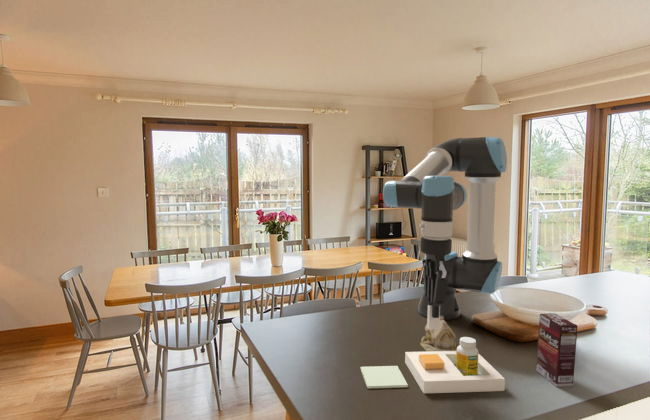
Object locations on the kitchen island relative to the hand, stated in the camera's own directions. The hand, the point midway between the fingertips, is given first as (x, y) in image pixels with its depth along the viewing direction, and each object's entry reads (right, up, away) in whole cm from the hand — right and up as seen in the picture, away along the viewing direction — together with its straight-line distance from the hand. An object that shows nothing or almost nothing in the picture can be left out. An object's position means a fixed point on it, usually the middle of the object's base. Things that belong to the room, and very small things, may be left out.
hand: (433, 328), depth 105 cm
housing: (+5, -13, +1) cm, 14 cm away
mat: (-13, -13, 0) cm, 18 cm away
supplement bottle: (+9, -13, +2) cm, 16 cm away
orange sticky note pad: (0, -12, +1) cm, 12 cm away
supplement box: (+31, -13, +1) cm, 34 cm away
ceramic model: (+7, -12, +18) cm, 23 cm away
